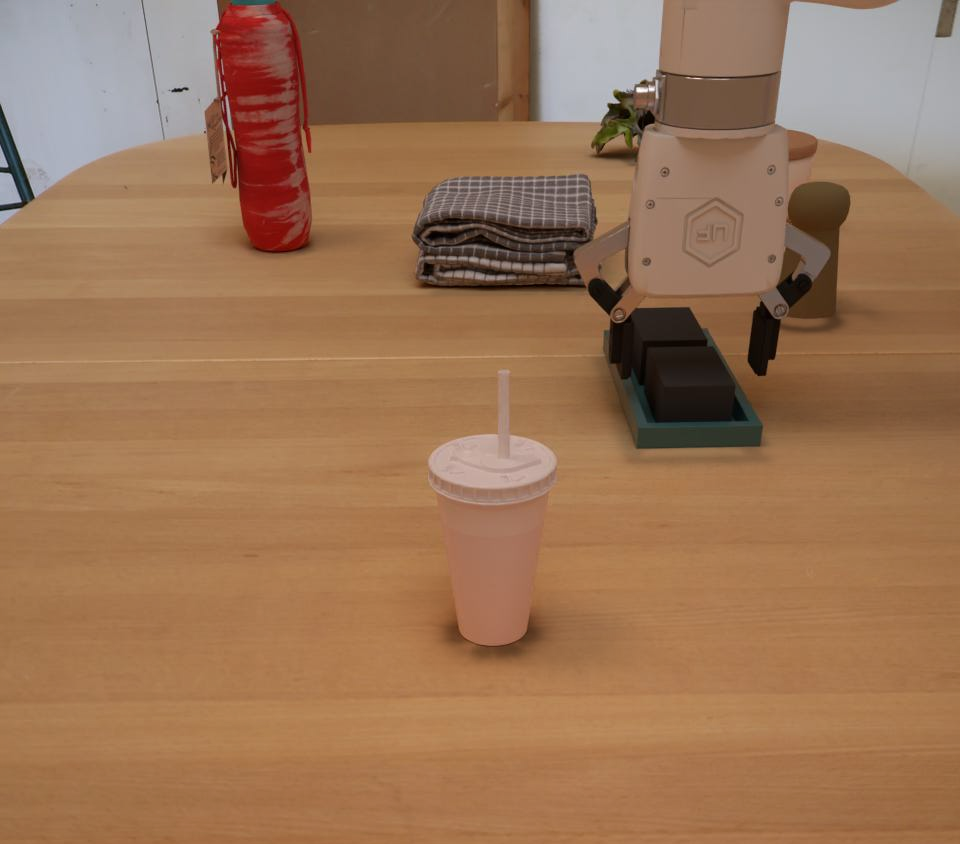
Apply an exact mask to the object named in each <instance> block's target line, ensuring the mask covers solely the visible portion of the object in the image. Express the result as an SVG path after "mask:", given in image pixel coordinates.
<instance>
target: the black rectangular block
mask: <svg viewBox="0 0 960 844" xmlns="http://www.w3.org/2000/svg"><path fill="white" fill-rule="evenodd" d="M735 387H736V385H735V383H734V381H733V380H732V378H731V376H730V374H729V373H728V371H727V369H726V367H725V365H724V364H723V362H722V360H721V358H720V357H719V355H718V353H717V351H716V350H715V348H714V347H713V346H700V347H648V348H647V358H646V371H645V383H644V394H645V396H646V399H647V402H648V404H649V407H650V409H651V412H652V415H653V417H654V420H655V422H656V423H677V422H731V418H732V410H733V402H734V395H735Z"/></svg>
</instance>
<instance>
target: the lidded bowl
mask: <svg viewBox="0 0 960 844" xmlns="http://www.w3.org/2000/svg"><path fill="white" fill-rule="evenodd" d="M786 129H787V134H788V153H789V174H788V201H787V218H786V221H787V220H788V219H789V217H788V202H789V199H790V197H791V194H792V192H793V191H794V189H795V188H796V187H798V186H799V185H801V184H804V183H809V182H810V179H811V176H812V172H813V166H814V160H815V156H816V155H815V154H816V153H817V150H818V143H819V141H818V138H817V137H815V136H814V135H812V134H810V133H808V132H803V131H800V130H794V129H789V128H786Z"/></svg>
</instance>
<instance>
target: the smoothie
mask: <svg viewBox="0 0 960 844" xmlns="http://www.w3.org/2000/svg"><path fill="white" fill-rule="evenodd" d="M510 419H511V371H510V370H508V369H500V370H498V371H497V433H484V434H474V435H468V436H461V437H459V438H456V439H453V440H449V441H447V442H445V443H443V444H441V445H440V446H438V447H437V448H436V449H434V450H433V451H432V453H430V455H429V457H428V462H427V463H428V473H427V482H428V485H429V487H430V488H431V489H432V490H433V491H434V492H435V493H436V499H437V506H438V513H439V518H440V523H441V529H442V536H443V543H444V548H445V555H446V559H447V565H448V572H449V577H450V583H451V590H452V595H453V602H454V607H455V614H456V619H457V626H458V632H459V633H460V635H461V636H462V637H463V638H464V639H466V640H467V641H469V642H471V643H473V644H477V645H481V646H486V647H487V646H489V647H497V646H505V645H509V644H513V643H515V642H517V641H519V640H520V639H522V638H523V637H524V636H525V635H526V633H527V630H528V625H529V620H530V613H531V607H532V601H533V595H534V589H535V581H536V575H537V570H538V565H539V558H540V557H539V556H540V551H541V545H542V538H543V532H544V526H545V521H546V515H547V509H548V502H549V495H550V491H552V490H553V489H554V488H555V485H556V484H557V482H558V472H557V471H558V470H557V466H558V459H557V456H556V454H555V452H553V451H552V450H551V448H549V447H548V446H546V445H545V444H543V443H541V442H539V441H536V440H535V439H531V438H528V437H524V436H520V435H513V434H511V433H510V428H511V427H510V425H511V422H510V421H511V420H510Z"/></svg>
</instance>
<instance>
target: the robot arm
mask: <svg viewBox="0 0 960 844" xmlns="http://www.w3.org/2000/svg"><path fill="white" fill-rule="evenodd" d="M662 1H663V4H662V15H661V28H660V29H661V31H660V40H659V42H660V43H659V55H658V56H659V57H658V69H656V70H655V76H652V80H651V81H650V80H648V82H647V83H646V84H640V83H635V84H634V85H633V90H634V94H633V105H634V108H645V110H650V111H651V113H652V114H653V116H654V117H655V124H650V125H647V126H646V127H645V129H644V133H643V136H642V140H641V144H640V149H639V148H638V152H639V153H638V152H637V156H638V157H637V156H636V158H637V162H635V168H634V174H633V180H632V186H631V193H630V201H629V207H628V216H627V220H626V221H623V223H620V224H619V225H617V226H615V227H613V228H612V229H610V230H608V231H607V232H604V233H603V234H601V235H600V236H597V237H595V238H593V240H592V241H590V242H588V243H587V244H585V245H583V246H581V247H579V248H578V249H576V250H575V251H574V253H573V258H574V261H575V264H576V266H577V269H578V271H579V273H580V275H581V277H582V279H583V281H584V284H585V285H584V286H585V288H586V290H587V292H588V295H589V296H590V298H592V300H594V301H595V303H596V304H598V306H599V307H600V308H601V309H602V310H603V311H604V312H605V314H607V315H608V316H609V330H610V333H609V353H608V356H609V363H610V364H616V367H617V370H618V373H619V376H620V379H621V380H624V379H628V378H629V377H631V372H632V357H633V342H634V323H633V320H632V318H631V313H632V312H633V311H634V310H635V308H638V306H639V305H640V304H641V303H642V302H643V301H644V299H645V298H651V299H711V298H715V299H716V298H742V297H745V298H746V297H755V296H757V298H759V299H760V302H759V305H757V306H755V309H754V310H753V312H752V319H751V327H750V335H749V344H748V349H747V350H748V352H747V359H746V360H747V363H748V366H749V367H750V368H751V370H752V372H753V374H755V375H756V376H757V377H766V376H767V373H768V366H769V361H774V360H775V359H776V356H777V350H778V343H779V336H780V328H781V323H782V319H785V318H786V317H787V316H786V315H787V314H788V312H789V309H790V308H791V307H792V306H793V305H794V304H795V303H796V302H797V301H799V300H800V299H801V298H802V297H803V296H804V295H805V294H806V293H807V292H808V291H809V290H810V289H811V287H812V282H813V281H814V279H815V278H817V276H818V275H819V273H820V272H821V270H822V269H823V267H824V265H825V264H826V262H827V261H828V259H829V258H830V255H831V251H830V249H829V248H828V247H827V246H826V245H825V244H824V243H822V242H821V241H819V240H817V239H815V238H814V237H812V236H810V235H808V234H807V233H805V232H803V231H801V230H800V229H798V228H796V227H794V226H793V225H792V223H789V222H787V220H786V218H787V201H788V174H789V153H788V134H787V129H788V128H785V127H783V126H781V125H780V124H778V123H776V119H777V118H776V117H777V109H778V101H779V96H780V85H781V78H782V68H783V61H784V54H785V53H784V52H785V45H786V39H787V30H788V23H789V16H790V8H791V3H794V2H799V3H808V4H809V3H810V4H817V5H818V4H819V5H826V6H827V5H828V6H832V7H833V6H834V7H840V8H847V9H852V10H874V9H878V8H883V7H887V6H890V5H893V4H894V3H897V2H899V1H900V0H662ZM786 247H787V248H789V249H791V250H793V251H794V252H796V253H798V254H800V255H801V260H800V262H799V264H798V267H797V268H796V270H795V271H793V272H792V273H791V274H790V275H789V276H788V277H787V278H786V279H784V280H783V281H782V282H781V283H780V284H779V285H778V286H777V284H778V282H779V279H780V276H781V271H782V264H783V256H784V252H785V248H786ZM623 250H624V270H625V273H626V276H624V277H623V279H622V280H621V281H620V282H619V283H618V285H617V286H616V287H615V288H613V287H612V286H611V285H610V284H609V283H608V282H607V281H606V280H605V279H604V278H603V276H602V275H601V271H600V272H599V269H598V267H599V264H600V263H602V262H603V261H605V260H607V259H609V258H611V257H613V256H615V255H616V254H619V253H620V252H621V251H623ZM776 286H777V287H776Z"/></svg>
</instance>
